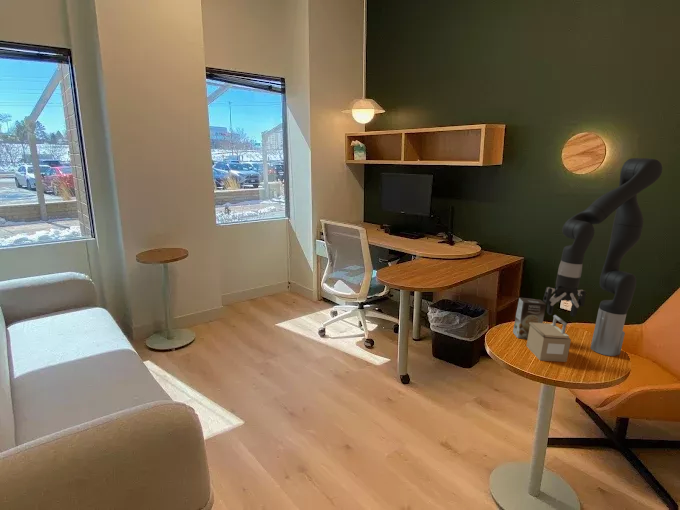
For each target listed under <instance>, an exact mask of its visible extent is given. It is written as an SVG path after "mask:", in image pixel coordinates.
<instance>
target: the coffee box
mask: <svg viewBox="0 0 680 510" xmlns="http://www.w3.org/2000/svg"><path fill="white" fill-rule="evenodd" d="M546 306H547V304H546V303H545V302H544V301H543V300H541V299H537V298H536V299H535V298H528V297H521V296H520V297H518V304H517V309H516V312H515V320H514V324H513V330H512V333H513V334H514V336H515V337H516V338H517V339H523V340H528V334H529V328H530V324H529V323H530V322H532V323H544V317H545V314H546V312H545V311H546V309H547V307H546Z"/></svg>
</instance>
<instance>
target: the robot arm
mask: <svg viewBox="0 0 680 510" xmlns="http://www.w3.org/2000/svg"><path fill="white" fill-rule="evenodd" d="M662 172H663V164H662V163H661V161H660V160H658V159H657V158H655V159H654V158H650V157H649V158H647V157H646V158H644V157H642V158H641V157H632V158H629V159H627V160H626V161H625V162H624V163H623V165H622V167H621V170H620V175H619V186H617V187H616V188H614V189H612V190H610V191H608V192H606V193H604V194H602V195H600V196H599V197H598V198H596V199H595V200H594V201H592V203H591V204H589V205H588V207H587V208H585V209H584V210H582V211H580V212H577V213H576V214H575V215H573V216H571V217H570V218H568V220H566V221H565V223H564V224H563V225H562V228H561V231H562V235H563V236H564V237H566V238H568V239H572V240H574V241H573V243H572V244H569V245H566V246H564V247H563V248H562V249H563V250H562V253H561V258H560V263H559V265H558V270H557V274H556V280H555V286H554V288H553V287H550V286H546V288H545V292H544V295H543V298H542V301H543V302H544V303H545V304H546V306H547V307H546V313H547V315H549V316H553V313H554V305H555V304H557V303H559V302H560V301H563V302H564V301H567V302H570V303H571V304H572V305H571V308H570V310H569V311H570V313H569V316H571V317H576V316H577V313H578V309H579V307H584V306H585V302H586V295H587V292H586V290H584V289H581V288H580V289H579V287H580V280H581V276H582V273H583V262H584V259H585V253H586V251H587V250H588V248H589V246H590V244H591V242H592V240H593V238H594V236H595V227H594V225H600V224H601V223H603V222H604V221H605V220H606V219H608V217H609V216H610V215H612V214H613V213H614V212H615V215H614V218H613V223H612V228H611V233H610V234H611V235H610V239H609V244H608V245H609V246H608V249H607V253H606V257H605V260H604V262H603V266H602V270H601V271H600V272H601V273H600V276H599V287H600V288H601V289H602V290H603V291H606V292H608V293H611V294H614V296H613V298H612V299H603V300H601V301H600V303H599V307H598V311H597V314H596V315H597V316H596V321H595V325H594V330H593V334H592V340H591V343H590V349H591V350H592V351H593V352H596V353H597V354H600V355H603V356H609V357H610V356H611V357H615V356H619V355H621V351H622V348H623V347H622V346H623V343H624V340H625V334H626V332H625V331H624V328H625V327H624V326H625V322H626V319H627V318H626V317H627V314H628V310H629V308H630V307H631V304H632V302H633V297H634V294H635V291H636V288H637V278H636V277H637V276H636V275H635V274H634V273H630V272H628V271H623V270H620V267H621V263H622V262H623V261H622V260H623V259H624V257H625V255H626V254H627V253H628V252H629V251H630V250H632V248H634V246H635V245H636V244H637V243H638V242H639V241H640V239H641V237H642V232H643V231H642V230H643V228H644V227H643V226H644V218H643V217H644V216H643V213H642V211H641V208H640V204H639V202H638V194H639V193H641V192H642V191H644V190H645V189H647V188H649V187H650V186H652V185H653V184H654V183H656V182H657V181H658V179H659V178H660V177H661V175H662ZM552 294H553V295H552ZM577 295H578V297H577V299H576V296H577Z"/></svg>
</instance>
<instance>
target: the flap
mask: <svg viewBox="0 0 680 510" xmlns="http://www.w3.org/2000/svg"><path fill="white" fill-rule="evenodd" d="M552 317H553V320H552V323H545V322H543V323H532V322H530V323H529V324H530V325H531V326H532V327H533V328H534V329H535V330H536V331H537V332H538V333H540V334H541V335H542V336H543V337H552V338H568V339H569V338H570V335H568V334H567V332H566V330H567V329H566V327H567V325H568V324H567V323H568V322H566V321H565V320H563V319H562V318H561V317H559V316H558V315H557V314H554V315H552ZM557 321H558V322H559V323H561V325H562V328H560V327H559V326H557Z"/></svg>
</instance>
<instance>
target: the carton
mask: <svg viewBox="0 0 680 510" xmlns="http://www.w3.org/2000/svg"><path fill="white" fill-rule="evenodd" d="M526 340H527V341H526V347H527V348H528V350H529V351H530V352H531V353H532V354H534V356H535V357H536V358H537V359H538V360H539V361H546V362H547V361H548V362H561V363H563V362H564V363H567V362H568V356H569V351H570V346H571V341H572V339H571V338H570V337H569V339H568V338H552V337H543V336H542V335H541V334H540V333H538V332H537V331H536V330H535V329H534V328H533V327H532V326H531V325H530V328H529V334H528V339H526Z"/></svg>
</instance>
